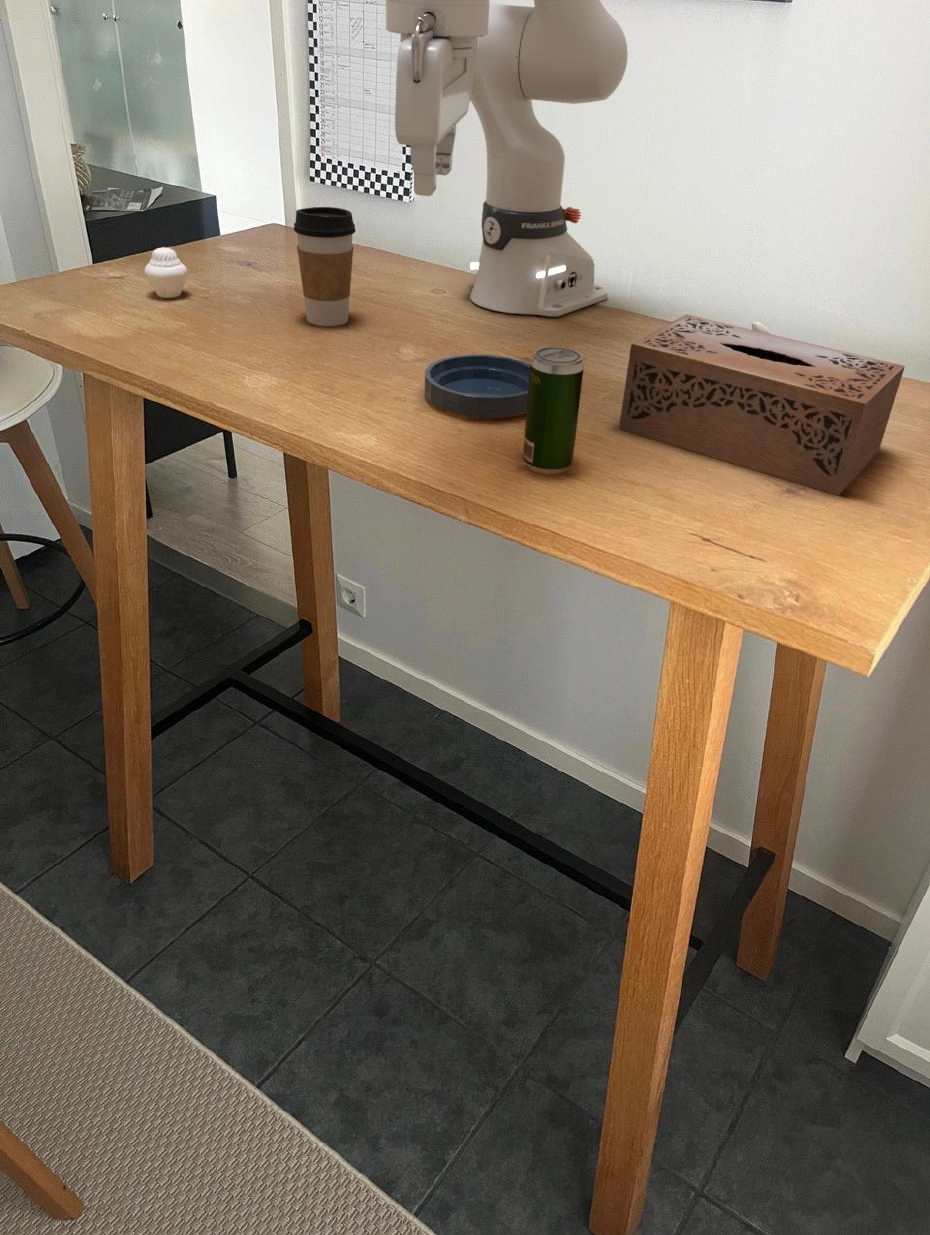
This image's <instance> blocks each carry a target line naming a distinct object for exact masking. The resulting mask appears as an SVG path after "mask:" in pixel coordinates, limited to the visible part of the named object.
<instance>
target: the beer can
mask: <svg viewBox="0 0 930 1235" xmlns="http://www.w3.org/2000/svg"><path fill="white" fill-rule="evenodd" d="M583 360H584V356H583V354H582V353H580V352H579V351H577V350H575V349H572V348H568V347H563V346H562V347H561V346H547V347H542V348H538V349H536V350H535V351H534V352H533V358H532V359H531V362H530V364H529V365H530V376H529V388H528V399H527V411H526V413H525V423H524V434H523V447H522V456H521V457H522V460H523V462H524V465H525V467H526V468H527V469H528V470H529V471H530V472H534V473H537V474H540V475H546V476H548V475H549V476H554V475H560V474H563V473H566V472H568V470H570V468H571V466H572V464H573V462H574V454H575V446H576V439H577V438H576V437H577V432H578V422H579V412H580V405H581V396H582V389H583V380H584V372H585V371H584V370H585V365H584V362H583Z"/></svg>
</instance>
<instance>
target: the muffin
mask: <svg viewBox="0 0 930 1235" xmlns="http://www.w3.org/2000/svg"><path fill="white" fill-rule="evenodd" d="M144 275H145V277H146V278H147V281H148V283H149V284H150V286H151V288H152V289H153V291H155V293H156V295H157V296H158V297H159V298H164V299H172V298H173V299H174V298H178V297H180V296H181V294H182V291H183V289H184V286H185V284H186V281H187V275H188V268H187V266H186V265H185V264H183V262H181V260H180V258H178V255H177V252H176V251H175V250H174V249H173V248H170V247H165V246H162V247H158V248H155V249H154V250H153V251H152V252H151V259H150V260H149V262H148V263H147V264H146V265H145V267H144Z"/></svg>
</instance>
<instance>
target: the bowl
mask: <svg viewBox="0 0 930 1235" xmlns="http://www.w3.org/2000/svg"><path fill="white" fill-rule="evenodd" d="M530 365H531V364H529V363H527V362H524V361H522V360H519V359H515V358H511V357H507V356H499V355H493V354H461V355H453V356H449V357H444V358H440V359H439V360H435V361H434V362H432V363H429V365H428V366H427V367H426V369H425V370H424V397H425V399H426V400H427V401H428V402H429V403H430V404H431V405H433V406H434V407H436V408H438V409H440V410H442V411H445V412H448V413H451V414H455V415H458V416H462V417H466V418H473V419H484V420H485V419H487V420H489V419H493V420H494V419H504V418H512V417H518V416H521V415H523V414H526V411H527V399H528V388H529V376H530Z"/></svg>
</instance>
